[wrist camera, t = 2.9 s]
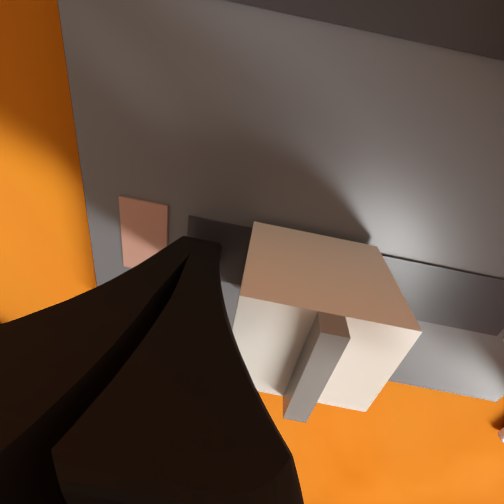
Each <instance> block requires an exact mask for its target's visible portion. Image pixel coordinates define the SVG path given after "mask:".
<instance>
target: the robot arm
mask: <svg viewBox="0 0 504 504" xmlns="http://www.w3.org/2000/svg"><path fill="white" fill-rule="evenodd" d="M221 251H222V246H221V245H220V243H218V242H213V241H208V240H203V239H198V238H193V237H188V236H182V237H180V238H179V239H177V240H176V241H174V242H173V243H171V244H169V245H168V246H166V247H165V248H163V249H162V250H160V251H159V252H157V253H156V254H154V255H153V256H151V257H150V258H148V259H146V260H145V261H143V262H142V263H140V264H138V265H137V266H135V267H133V268H131V269H130V270H128V271H126V272H124V273H122V274H121V275H119V276H117V277H115V278H113V279H112V280H110V281H108V282H106V283H104V284H102V285H100V286H98V287H96V288H94V289H91V290H89V291H87V292H85V293H82V294H80V295H78V296H76V297H73V298H71V299H69V300H66V301H64V302H61V303H59V304H56V305H53V306H51V307H48V308H45V309H43V310H40V311H37V312H35V313H32V314H29V315H27V316H24V317H21V318H19V319H16V320H13V321H10V322H7V323H4V324H1V325H0V504H304V502H303V497H302V492H301V488H300V483H299V479H298V475H297V471H296V467H295V463H294V459H293V456H292V454H291V452H290V450H289V448H288V447H287V445H286V443H285V441H284V440H283V438H282V436H281V434H280V433H279V431H278V429H277V427H276V426H275V424H274V422H273V420H272V418H271V416H270V415H269V413H268V411H267V409H266V407H265V405H264V403H263V401H262V399H261V397H260V395H259V393H258V391H257V389H256V387H255V385H254V383H253V381H252V379H251V376H250V374H249V372H248V369H247V367H246V365H245V362H244V360H243V358H242V356H241V353H240V351H239V348H238V345H237V343H236V340H235V337H234V334H233V331H232V328H231V325H230V322H229V318H228V315H227V311H226V307H225V302H224V298H223V293H222V287H221V279H220V270H219V265H220V258H221ZM498 436H499V438H500V439H501V441H502V442H504V427H503V428H502V429H501V430H499V432H498Z"/></svg>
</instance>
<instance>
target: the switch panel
mask: <svg viewBox="0 0 504 504" xmlns="http://www.w3.org/2000/svg"><path fill="white" fill-rule="evenodd" d="M58 8H59V15H60V22H61V29H62V36H63V44H64V51H65V58H66V65H67V72H68V80H69V87H70V94H71V101H72V109H73V116H74V123H75V130H76V137H77V145H78V152H79V159H80V166H81V173H82V181H83V188H84V195H85V202H86V210H87V217H88V224H89V231H90V238H91V246H92V253H93V260H94V267H95V275H96V282H97V287H98V286H100V285H102V284H104V283H106V282H108V281H110V280H112V279H113V278H115V277H117V276H119V275H121V274H122V273H124V272H126V271H128V270H130V269H131V268H133V267H135V266H137V265H138V264H140V263H142V262H143V261H145V260H146V259H148V258H150V257H151V256H153V255H154V254H156V253H157V252H159V251H160V250H162V249H163V248H165V247H166V246H168V245H169V244H171V243H173V242H174V241H176V240H177V239H179V238H180V237H182V236H188V237H193V238H198V239H203V240H208V241H213V242H218V243H220V245H221V246H222V251H221V258H220V265H219V270H220V279H221V287H222V293H223V298H224V302H225V307H226V311H227V315H228V318H229V322H230V325H231V328H233V323H234V318H235V313H236V308H237V303H238V298H239V293H240V288H241V283H242V278H243V273H244V268H245V263H246V258H247V253H248V248H249V243H250V239H251V234H252V229H253V224H254V221H255V222H260V223H265V224H270V225H275V226H280V227H285V228H290V229H294V230H299V231H304V232H309V233H314V234H319V235H324V236H329V237H334V238H339V239H344V240H349V241H354V242H359V243H364V244H368V245H373V246H377V247H378V249H379V251H380V252H381V254H382V256H383V258H384V260H385V262H386V264H387V266H388V267H389V269H390V271H391V273H392V275H393V277H394V279H395V281H396V283H397V284H398V286H399V288H400V290H401V292H402V294H403V296H404V298H405V300H406V301H407V303H408V305H409V307H410V309H411V311H412V313H413V315H414V317H415V318H416V320H417V322H418V324H419V326H420V328H421V330H422V333H421V335H420V336H419V338H418V339H417V340H416V342H415V343H414V345H413V346H412V347H411V349H410V350H409V352H408V353H407V354H406V356H405V357H404V359H403V360H402V362H401V363H400V364H399V366H398V367H397V369H396V370H395V371H394V373H393V374H392V376H391V377H390V378H389V380H388V381H392V382H397V383H403V384H408V385H413V386H418V387H423V388H428V389H433V390H438V391H444V392H449V393H454V394H459V395H464V396H469V397H474V398H480V399H485V400H490V401H495V402H497V401H498V400H499V399H500V398H502V397H503V396H504V0H58Z"/></svg>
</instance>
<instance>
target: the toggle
mask: <svg viewBox="0 0 504 504" xmlns="http://www.w3.org/2000/svg"><path fill="white" fill-rule="evenodd" d="M232 331H233V334H234V337H235V340H236V343H237V345H238V348H239V351H240V353H241V356H242V358H243V360H244V362H245V365H246V367H247V369H248V372H249V374H250V376H251V379H252V381H253V383H254V385H255V387H256V389H257V391H259V392H265V393H270V394H275V395H280V396H283V418H284V419H289V420H295V421H300V422H305V423H306V422H307V420H308V418H309V416H310V414H311V412H312V411H313V409H314V407H315V405H316V403H322V404H327V405H332V406H337V407H342V408H348V409H353V410H358V411H363V412H366V411H367V409H368V408H369V406H370V405H371V404H372V402H373V401H374V399H375V398H376V397H377V395H378V394H379V392H380V391H381V390H382V388H383V387H384V385H385V384H386V383H387V381H388V380H389V378H390V377H391V376H392V374H393V373H394V371H395V370H396V369H397V367H398V366H399V364H400V363H401V362H402V360H403V359H404V357H405V356H406V354H407V353H408V352H409V350H410V349H411V347H412V346H413V345H414V343H415V342H416V340H417V339H418V338H419V336H420V335H421V333H422V330H421V328H420V326H419V324H418V322H417V320H416V318H415V317H414V315H413V313H412V311H411V309H410V307H409V305H408V303H407V301H406V300H405V298H404V296H403V294H402V292H401V290H400V288H399V286H398V284H397V283H396V281H395V279H394V277H393V275H392V273H391V271H390V269H389V267H388V266H387V264H386V262H385V260H384V258H383V256H382V254H381V252H380V251H379V249H378V247H377V246H373V245H368V244H364V243H359V242H354V241H349V240H344V239H339V238H334V237H329V236H324V235H319V234H314V233H309V232H304V231H299V230H294V229H290V228H285V227H280V226H275V225H270V224H265V223H260V222H255V221H254V224H253V229H252V234H251V239H250V243H249V248H248V253H247V258H246V263H245V268H244V273H243V278H242V283H241V288H240V293H239V298H238V303H237V308H236V313H235V318H234V323H233V328H232Z"/></svg>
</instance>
